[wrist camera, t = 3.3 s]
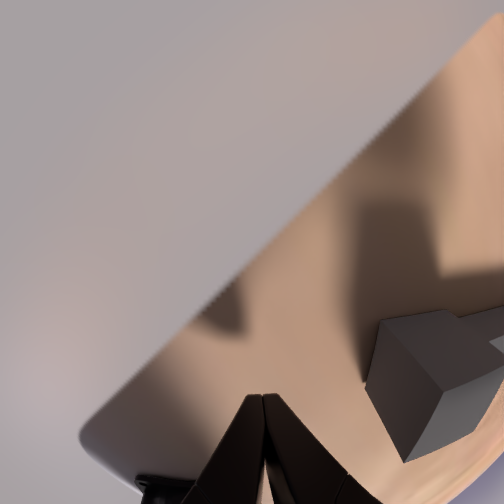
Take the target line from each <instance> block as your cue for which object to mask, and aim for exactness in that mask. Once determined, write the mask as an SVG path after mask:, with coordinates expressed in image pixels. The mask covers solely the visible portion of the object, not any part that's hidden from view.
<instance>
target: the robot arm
mask: <svg viewBox="0 0 504 504" xmlns="http://www.w3.org/2000/svg"><path fill="white" fill-rule="evenodd" d="M265 465H266V470H267V475H268V480H269V484H270V488H271V493H272V497H273V501H274V504H383V503H382V502H380V501H379V500H378V499H376V498H375V497H374V496H372V495H371V494H370V493H369V492H368V491H367V490H366V489H365V488H363V487H362V486H361V485H360V484H359V483H358V482H357V481H356V480H355V479H354V478H353V477H352V476H351V475H350V474H348V472H347V471H346V470H345V469H344V468H343V467H342V466H341V465H340V464H339V462H338V461H337V460H336V459H335V458H334V457H333V456H332V455H331V454H330V453H329V452H328V451H327V450H326V449H325V447H324V446H323V445H322V444H321V443H320V442H319V441H318V440H317V439H316V437H315V436H314V435H313V434H312V433H311V432H310V431H309V430H308V428H307V427H306V426H305V425H304V424H303V423H302V422H301V420H300V419H299V418H298V417H297V416H296V415H295V413H294V412H293V411H292V410H291V409H290V408H289V406H288V405H287V404H286V403H285V402H284V400H283V399H282V398H281V397H280V396H279V394H277V393H271V394H263V396H262V395H261V394H249V395H247V396H246V397H245V399H244V400H243V402H242V404H241V406H240V408H239V410H238V411H237V413H236V415H235V417H234V418H233V420H232V422H231V424H230V426H229V427H228V429H227V431H226V432H225V434H224V436H223V438H222V439H221V441H220V443H219V444H218V446H217V448H216V449H215V451H214V453H213V454H212V456H211V458H210V459H209V461H208V463H207V464H206V466H205V468H204V469H203V471H202V472H201V474H200V476H199V477H198V479H197V480H196V482H186V481H177V480H169V479H162V478H155V477H149V476H144V475H136V477H135V480H134V482H135V484H136V485H137V486H138V488H139V489H140V490H141V492H142V493H143V497H142V501H141V504H261V499H262V490H263V479H264V467H265ZM347 474H348V475H347Z"/></svg>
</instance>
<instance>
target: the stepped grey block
mask: <svg viewBox="0 0 504 504" xmlns="http://www.w3.org/2000/svg"><path fill="white" fill-rule="evenodd" d="M503 379H504V306H501V307H498V308H494V309H491V310H487V311H484V312H480V313H476V314H472V315H468V316H464V317H460V318H458V317H456V316H455V315H453V314H452V313H451V312H449V311H448V310H447V309H445V310H440V311H435V312H429V313H423V314H417V315H411V316H405V317H398V318H391V319H384V320H380V326H379V331H378V336H377V341H376V345H375V350H374V354H373V358H372V363H371V367H370V371H369V374H368V378H367V382H366V386H365V390H366V392H367V394H368V396H369V398H370V399H371V401H372V403H373V405H374V407H375V409H376V411H377V413H378V414H379V416H380V418H381V420H382V422H383V424H384V426H385V428H386V430H387V432H388V434H389V436H390V437H391V439H392V441H393V443H394V445H395V447H396V449H397V451H398V453H399V455H400V457H401V459H402V461H403V463H406V462H409V461H411V460H414V459H417V458H419V457H422V456H424V455H426V454H429V453H431V452H433V451H436V450H438V449H440V448H442V447H444V446H447V445H449V444H451V443H453V442H455V441H457V440H459V439H461V438H462V437H464V436H466V435H468V434H470V433H472V432H473V431H474V430H475V428H476V427H477V425H478V424H479V422H480V420H481V419H482V417H483V416H484V414H485V412H486V411H487V409H488V407H489V406H490V404H491V402H492V400H493V398H494V397H495V395H496V393H497V391H498V389H499V387H500V385H501V383H502V381H503Z"/></svg>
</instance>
